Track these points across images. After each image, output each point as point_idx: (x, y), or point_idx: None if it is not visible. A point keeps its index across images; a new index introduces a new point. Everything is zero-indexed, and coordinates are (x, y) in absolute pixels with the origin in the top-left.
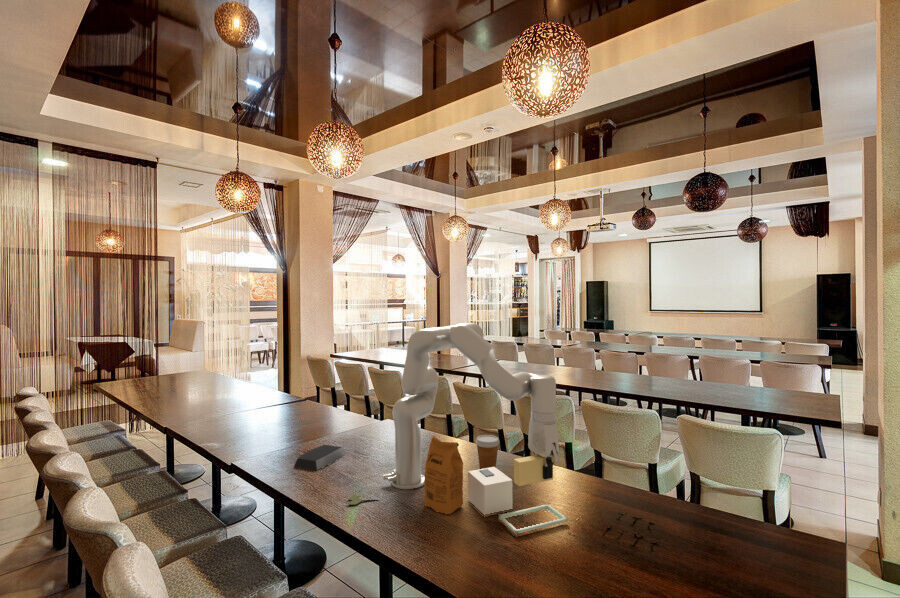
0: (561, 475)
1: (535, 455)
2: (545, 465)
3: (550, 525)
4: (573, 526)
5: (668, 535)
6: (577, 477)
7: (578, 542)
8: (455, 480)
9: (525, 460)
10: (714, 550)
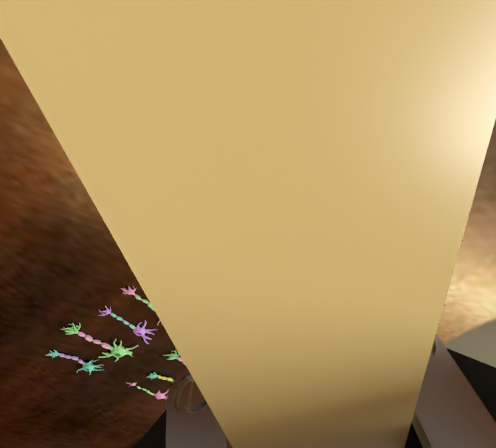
0: (477, 302)
1: (410, 412)
2: (187, 385)
3: None
4: None
5: (125, 391)
6: (440, 330)
7: (77, 212)
8: None
9: (170, 149)
10: (70, 424)
